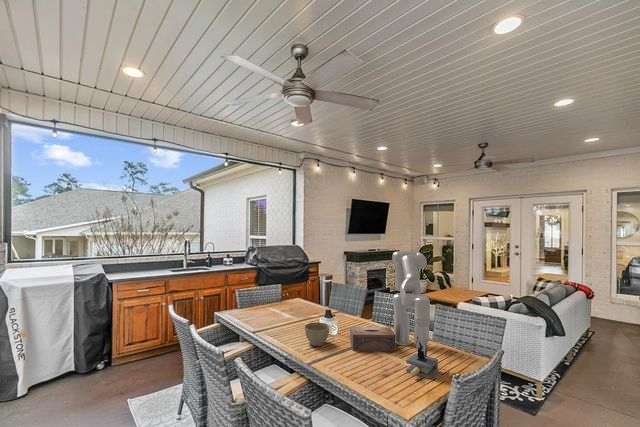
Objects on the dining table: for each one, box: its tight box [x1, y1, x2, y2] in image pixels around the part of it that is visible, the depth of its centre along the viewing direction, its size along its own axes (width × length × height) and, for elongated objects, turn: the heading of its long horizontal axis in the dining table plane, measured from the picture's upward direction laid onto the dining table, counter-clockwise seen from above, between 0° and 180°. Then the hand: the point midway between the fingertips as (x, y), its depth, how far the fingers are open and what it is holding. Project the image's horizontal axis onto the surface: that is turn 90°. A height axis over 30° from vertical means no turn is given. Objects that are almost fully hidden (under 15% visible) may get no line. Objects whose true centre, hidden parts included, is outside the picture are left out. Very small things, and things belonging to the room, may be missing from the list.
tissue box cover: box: [349, 326, 396, 352], centre depth 195 cm, size 26×14×10 cm, turn 91°
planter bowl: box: [304, 321, 331, 347], centre depth 199 cm, size 16×16×11 cm
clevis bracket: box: [405, 352, 439, 380], centre depth 159 cm, size 12×18×6 cm, turn 141°
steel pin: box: [419, 343, 425, 362], centre depth 162 cm, size 3×3×10 cm
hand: (422, 357), depth 162 cm, fingers closed on steel pin, 3 cm apart
